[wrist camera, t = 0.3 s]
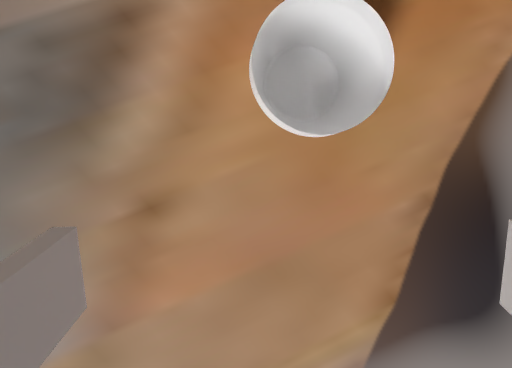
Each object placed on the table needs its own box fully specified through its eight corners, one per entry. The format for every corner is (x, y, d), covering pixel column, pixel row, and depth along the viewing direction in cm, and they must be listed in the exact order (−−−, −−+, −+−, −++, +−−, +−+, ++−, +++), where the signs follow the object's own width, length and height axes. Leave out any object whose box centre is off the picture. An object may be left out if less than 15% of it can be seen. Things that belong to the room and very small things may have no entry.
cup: (237, 47, 38) (231, 9, 26) (337, 18, 38) (377, -34, 26) (265, 147, 39) (271, 154, 27) (363, 119, 39) (412, 114, 27)
